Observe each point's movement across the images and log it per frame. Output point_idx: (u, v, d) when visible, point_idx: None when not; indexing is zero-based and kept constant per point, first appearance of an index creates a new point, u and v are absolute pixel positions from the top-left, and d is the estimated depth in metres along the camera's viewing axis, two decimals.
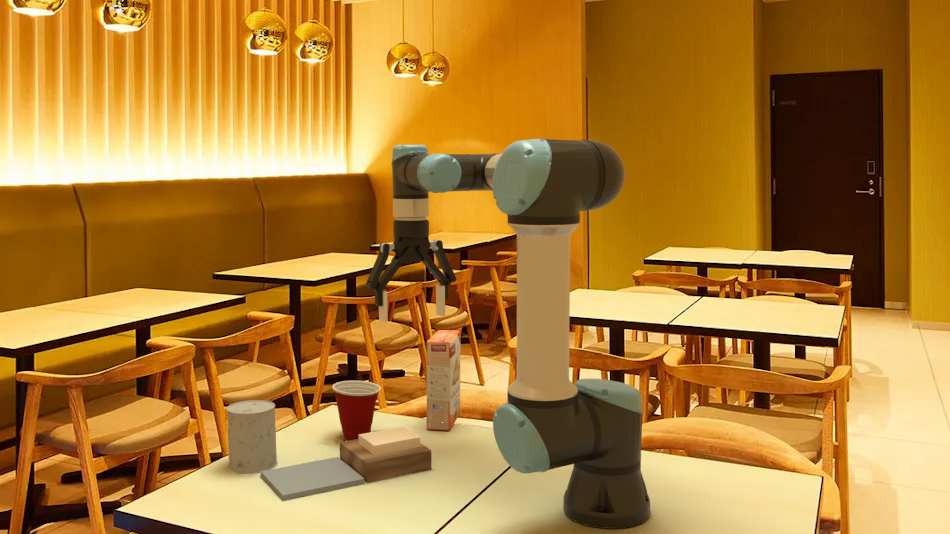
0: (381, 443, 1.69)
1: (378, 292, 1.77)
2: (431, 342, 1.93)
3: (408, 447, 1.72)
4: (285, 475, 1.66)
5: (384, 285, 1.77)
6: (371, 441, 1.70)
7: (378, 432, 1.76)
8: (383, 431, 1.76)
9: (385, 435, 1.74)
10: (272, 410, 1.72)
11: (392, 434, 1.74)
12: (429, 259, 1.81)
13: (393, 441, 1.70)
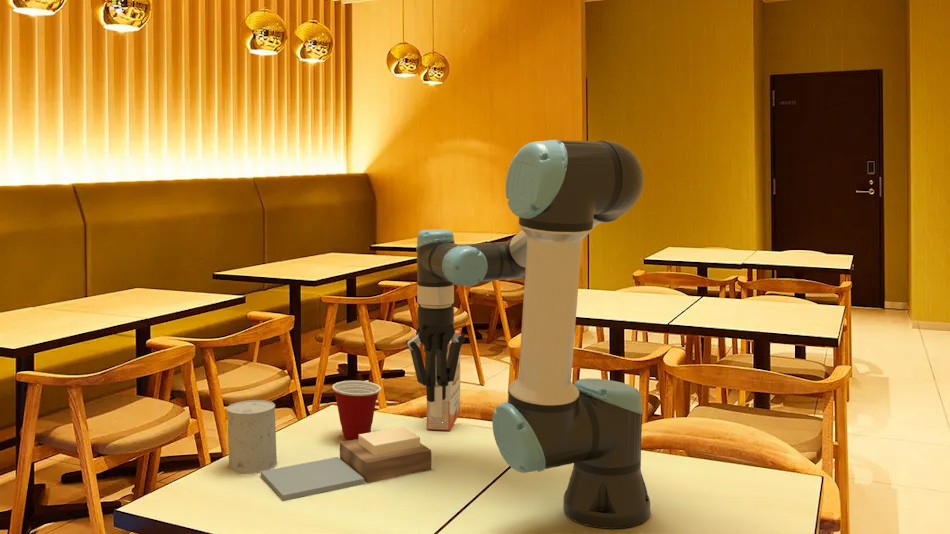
0: (381, 443, 1.69)
1: (430, 388, 1.77)
2: None
3: (408, 447, 1.72)
4: (285, 475, 1.66)
5: (434, 380, 1.76)
6: (371, 441, 1.70)
7: (378, 432, 1.76)
8: (383, 431, 1.76)
9: (385, 435, 1.74)
10: (272, 410, 1.72)
11: (392, 434, 1.74)
12: (445, 350, 1.76)
13: (393, 441, 1.70)
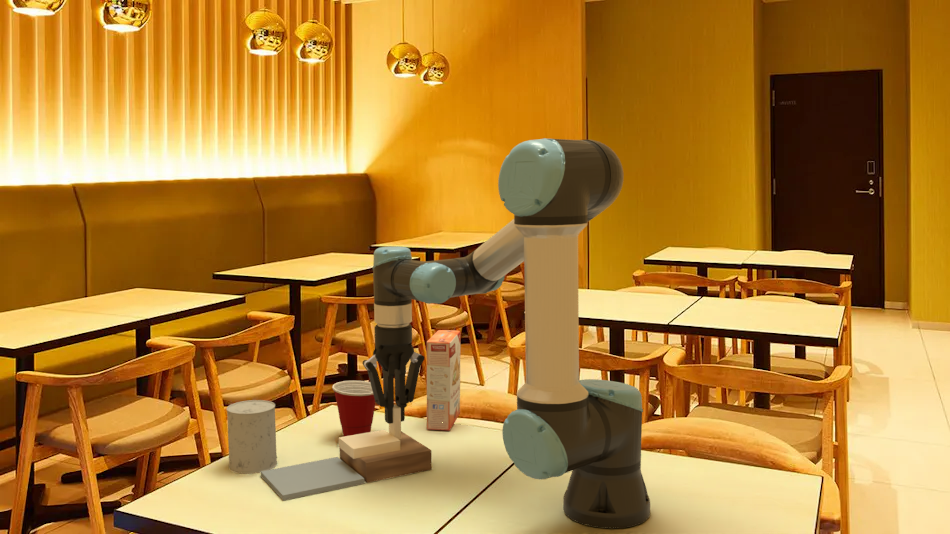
0: (360, 446, 1.67)
1: (388, 409, 1.72)
2: (431, 342, 1.93)
3: (388, 450, 1.70)
4: (285, 475, 1.66)
5: (392, 401, 1.72)
6: (350, 444, 1.68)
7: (358, 435, 1.74)
8: (364, 434, 1.74)
9: (366, 438, 1.72)
10: (272, 410, 1.72)
11: (372, 437, 1.72)
12: (403, 371, 1.72)
13: (373, 444, 1.68)
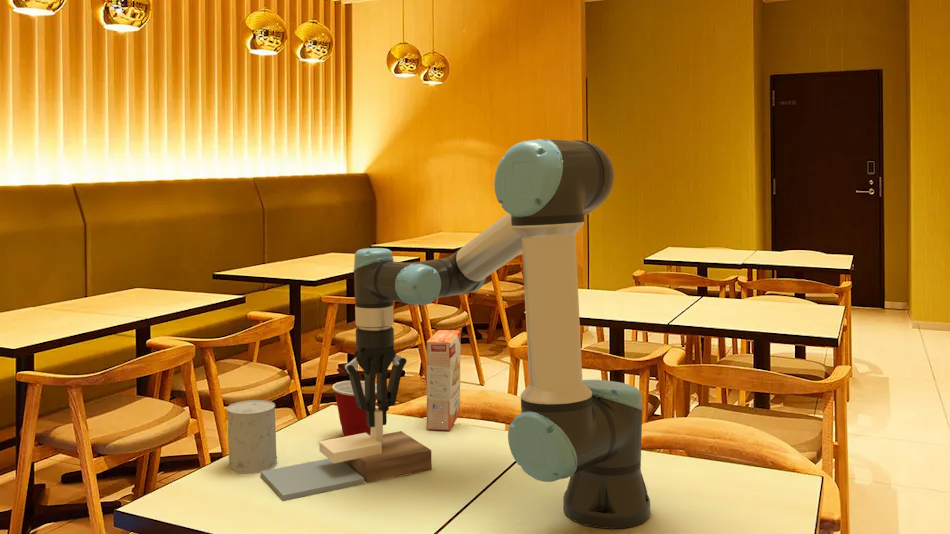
0: (341, 451, 1.65)
1: (370, 413, 1.70)
2: (431, 342, 1.93)
3: (369, 454, 1.68)
4: (285, 475, 1.66)
5: (373, 404, 1.70)
6: (331, 448, 1.66)
7: (339, 438, 1.72)
8: (345, 438, 1.72)
9: (346, 442, 1.70)
10: (272, 410, 1.72)
11: (353, 441, 1.70)
12: (385, 374, 1.70)
13: (353, 448, 1.66)
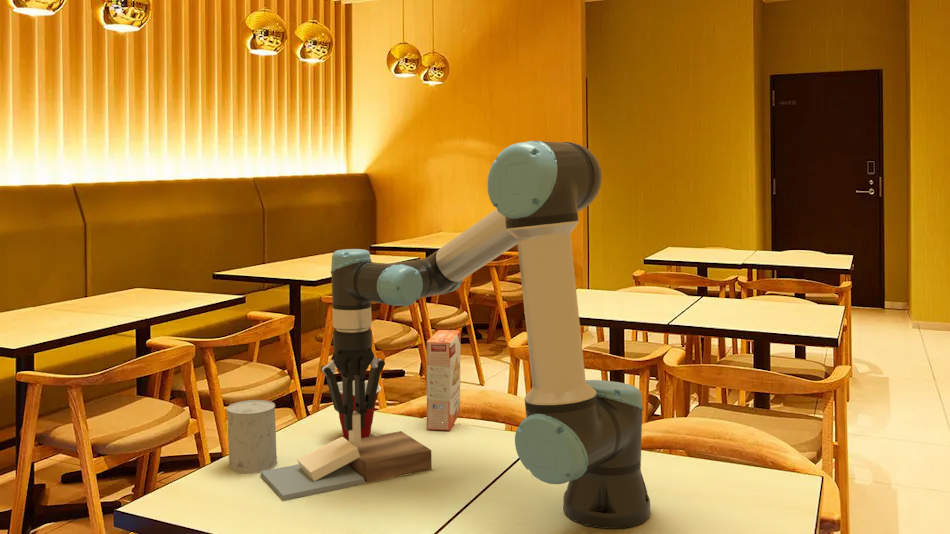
0: (318, 467, 1.63)
1: (347, 416, 1.68)
2: (431, 342, 1.93)
3: (348, 461, 1.66)
4: (285, 475, 1.66)
5: (351, 407, 1.68)
6: (308, 466, 1.64)
7: (317, 451, 1.70)
8: (322, 448, 1.70)
9: (323, 454, 1.68)
10: (272, 410, 1.72)
11: (330, 451, 1.68)
12: (363, 376, 1.68)
13: (330, 461, 1.64)
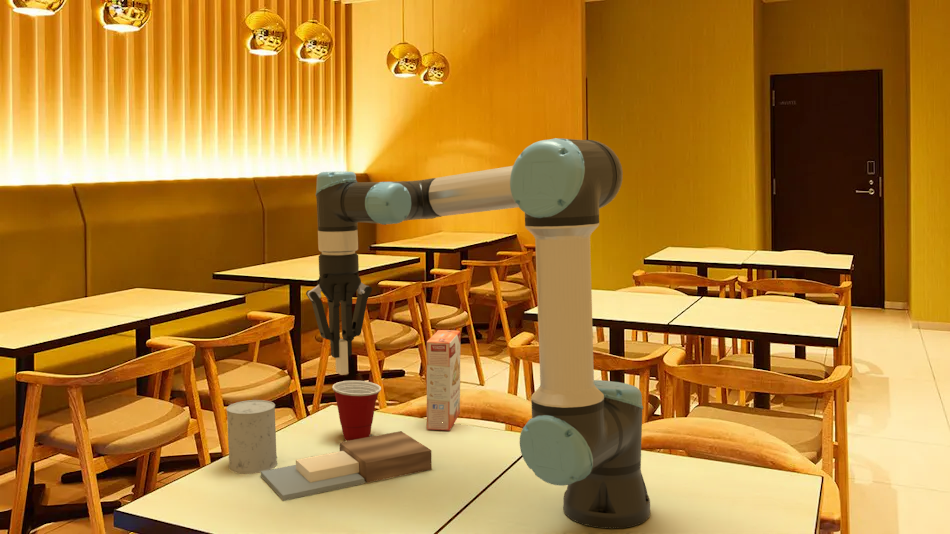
0: (317, 470, 1.63)
1: (334, 343, 1.64)
2: (431, 342, 1.93)
3: (346, 473, 1.66)
4: (285, 475, 1.66)
5: (338, 333, 1.64)
6: (307, 467, 1.64)
7: (316, 457, 1.70)
8: (322, 456, 1.71)
9: (323, 460, 1.68)
10: (272, 410, 1.72)
11: (330, 459, 1.68)
12: (350, 302, 1.64)
13: (330, 467, 1.64)
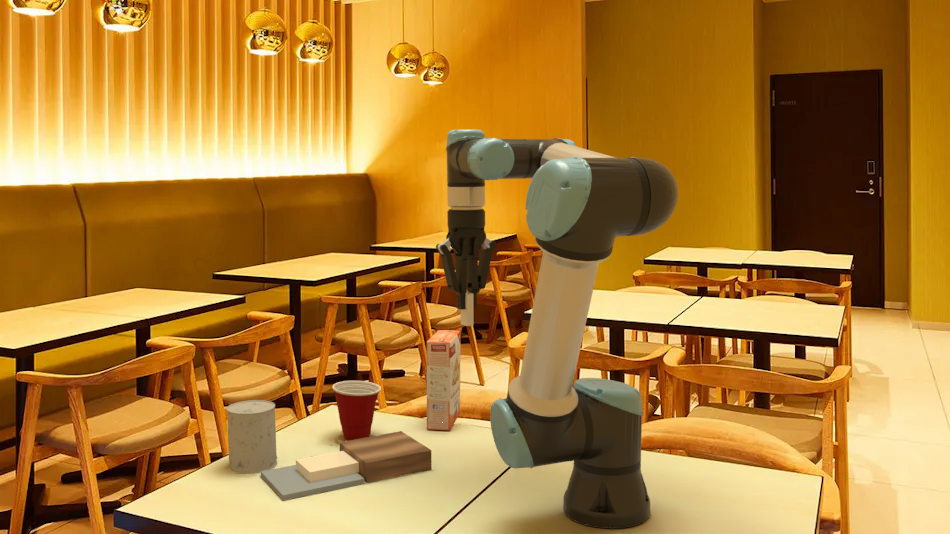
0: (317, 470, 1.63)
1: (461, 295, 1.71)
2: (431, 342, 1.93)
3: (346, 473, 1.66)
4: (285, 475, 1.66)
5: (465, 286, 1.71)
6: (307, 467, 1.64)
7: (316, 457, 1.70)
8: (322, 456, 1.71)
9: (323, 460, 1.68)
10: (272, 410, 1.72)
11: (330, 459, 1.68)
12: (476, 255, 1.71)
13: (330, 467, 1.64)
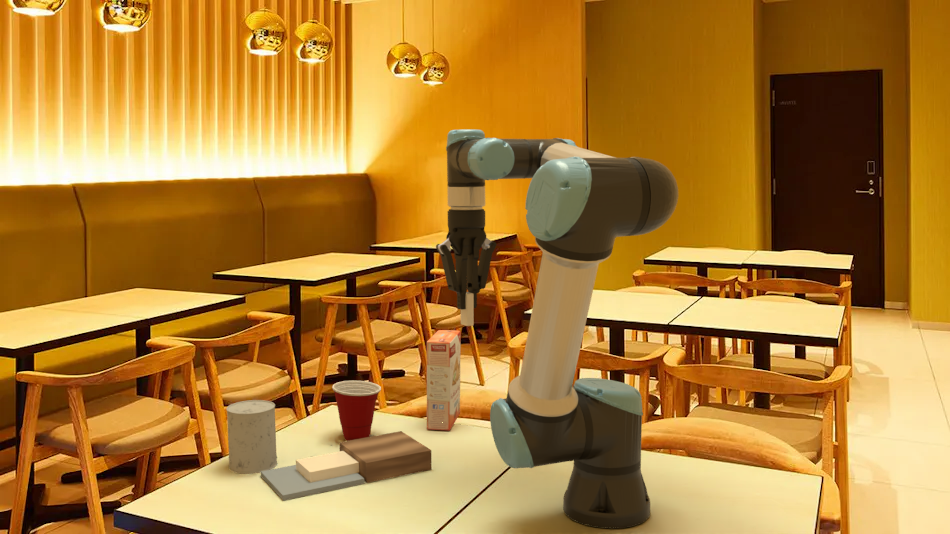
0: (317, 470, 1.63)
1: (461, 295, 1.71)
2: (431, 342, 1.93)
3: (346, 473, 1.66)
4: (285, 475, 1.66)
5: (465, 286, 1.71)
6: (307, 467, 1.64)
7: (316, 457, 1.70)
8: (322, 456, 1.71)
9: (323, 460, 1.68)
10: (272, 410, 1.72)
11: (330, 459, 1.68)
12: (477, 255, 1.71)
13: (330, 467, 1.64)
